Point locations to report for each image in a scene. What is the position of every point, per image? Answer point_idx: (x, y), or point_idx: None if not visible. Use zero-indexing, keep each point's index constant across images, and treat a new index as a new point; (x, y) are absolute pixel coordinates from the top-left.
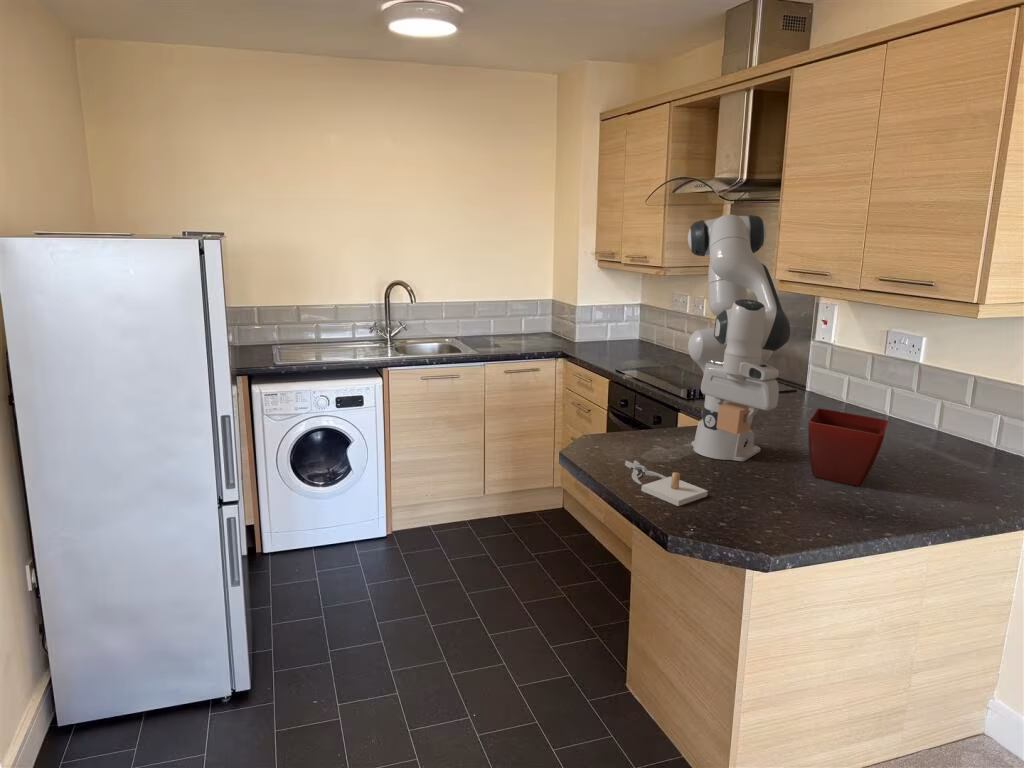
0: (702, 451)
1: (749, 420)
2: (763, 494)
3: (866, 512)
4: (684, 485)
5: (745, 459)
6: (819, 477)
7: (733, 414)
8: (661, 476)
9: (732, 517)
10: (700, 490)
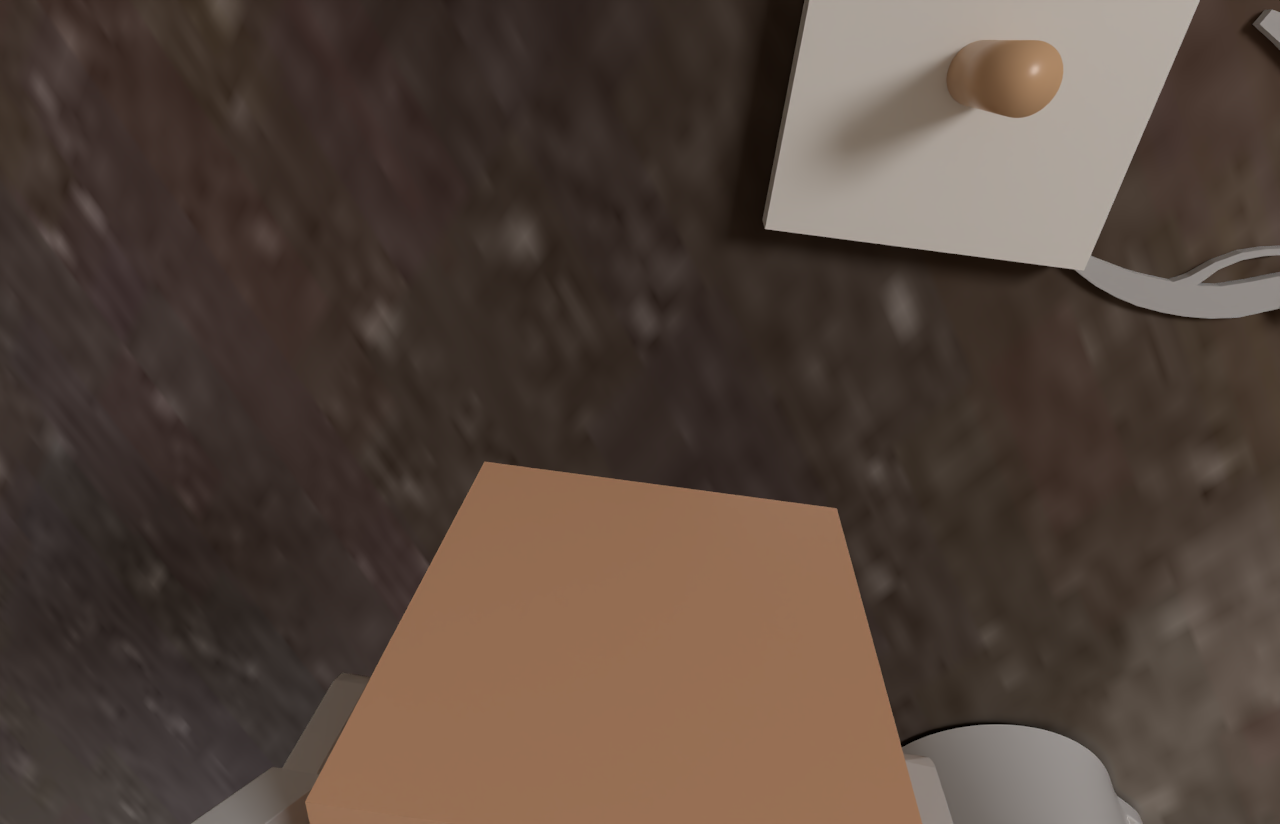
0: (1045, 749)
1: (320, 726)
2: None
3: (188, 606)
4: (934, 187)
5: None
6: None
7: (510, 704)
8: (1152, 281)
9: (472, 11)
10: (804, 193)
